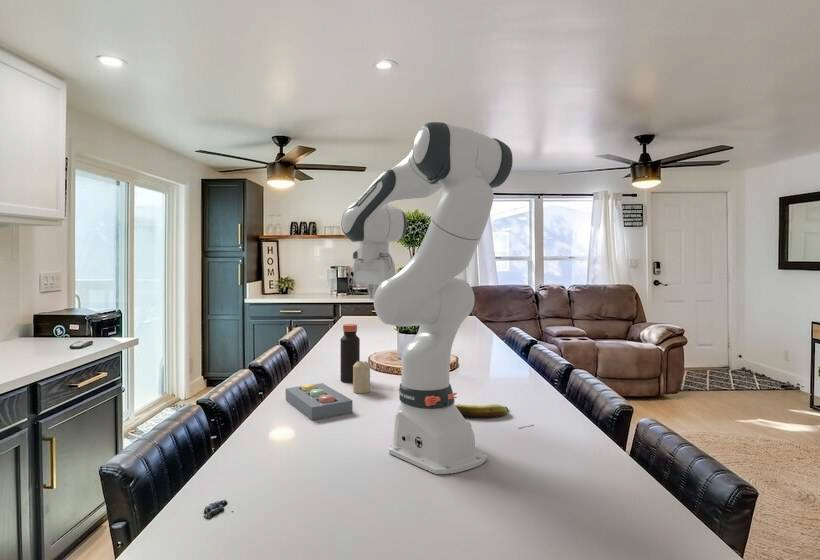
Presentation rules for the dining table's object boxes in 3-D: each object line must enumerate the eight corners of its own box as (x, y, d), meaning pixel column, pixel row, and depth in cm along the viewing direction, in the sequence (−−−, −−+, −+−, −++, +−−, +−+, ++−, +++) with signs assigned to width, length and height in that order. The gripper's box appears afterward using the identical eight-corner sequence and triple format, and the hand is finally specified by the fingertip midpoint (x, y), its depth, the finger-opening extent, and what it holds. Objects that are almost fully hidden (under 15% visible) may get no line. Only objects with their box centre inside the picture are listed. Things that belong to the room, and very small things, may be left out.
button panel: (352, 412, 130) (352, 400, 130) (311, 420, 123) (311, 407, 123) (322, 393, 148) (322, 383, 148) (285, 399, 142) (285, 388, 142)
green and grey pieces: (423, 436, 114) (423, 420, 114) (414, 402, 141) (414, 390, 141) (561, 433, 117) (561, 418, 117) (526, 400, 144) (526, 388, 144)
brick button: (336, 408, 129) (336, 397, 129) (322, 410, 127) (322, 399, 127) (330, 404, 133) (330, 393, 133) (317, 406, 130) (316, 396, 130)
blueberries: (245, 504, 82) (245, 493, 82) (226, 526, 74) (227, 514, 74) (208, 504, 82) (208, 493, 82) (185, 525, 74) (185, 513, 74)
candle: (371, 389, 154) (371, 359, 154) (368, 394, 148) (368, 363, 148) (355, 388, 154) (355, 359, 154) (351, 393, 149) (351, 362, 149)
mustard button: (318, 395, 141) (318, 386, 141) (304, 397, 139) (304, 388, 139) (313, 392, 145) (312, 383, 144) (300, 394, 142) (299, 384, 142)
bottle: (338, 379, 167) (338, 324, 167) (356, 377, 170) (356, 323, 169) (343, 383, 161) (343, 326, 160) (362, 381, 164) (362, 325, 163)
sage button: (327, 401, 135) (327, 391, 135) (313, 404, 133) (313, 393, 133) (321, 398, 139) (321, 388, 139) (308, 400, 136) (308, 390, 136)
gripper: (401, 253, 132) (400, 301, 132) (367, 254, 149) (367, 296, 149) (381, 252, 128) (381, 302, 129) (349, 253, 145) (349, 297, 146)
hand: (373, 299), depth 139 cm, fingers closed
